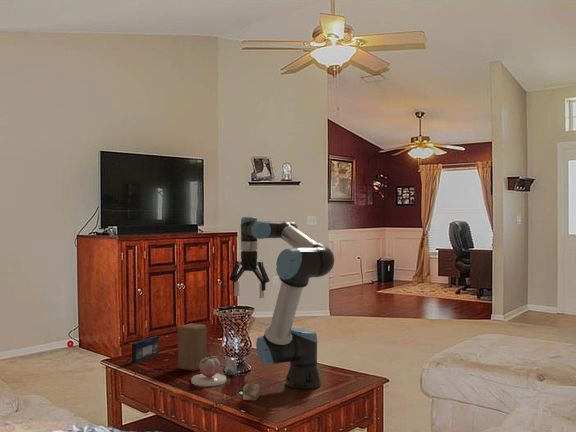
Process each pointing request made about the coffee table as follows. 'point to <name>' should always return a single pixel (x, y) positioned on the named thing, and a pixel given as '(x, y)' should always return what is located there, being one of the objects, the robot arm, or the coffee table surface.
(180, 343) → the block
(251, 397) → the birch cube
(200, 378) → the cream plate
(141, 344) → the vhs cassette tape
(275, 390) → the coffee table surface
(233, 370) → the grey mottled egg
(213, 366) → the decorative fruit
